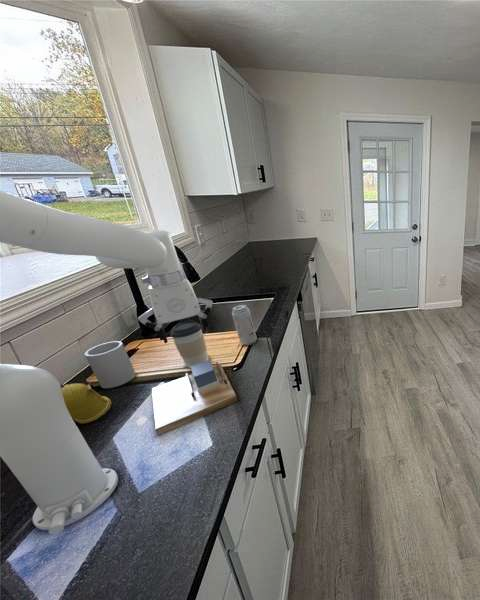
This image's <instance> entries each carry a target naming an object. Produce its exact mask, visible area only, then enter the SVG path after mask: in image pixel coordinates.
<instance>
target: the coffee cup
mask: <svg viewBox="0 0 480 600" xmlns="http://www.w3.org/2000/svg"><path fill="white" fill-rule="evenodd" d="M169 332H170V337H171V338H172V339H173V343H174V345H175V347H176V349H177V352H178V353H179V355H180V358H182V360H183V363H184V364H185V366H186V368H190V369H191V366H194V365H197V364H200V363H203V362H206V361H208V360H210V358H209V355H208V351H207V348H208V347H207V345H206V341H205V336H204V333H203V327H202V324H201V323H198V322H196V321H194V320H192V319H189V320H185V322H181V323H178V324H176V325H174V326H173V327H172V329H171V330H170V331H169Z"/></svg>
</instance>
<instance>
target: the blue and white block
mask: <svg viewBox="0 0 480 600" xmlns="http://www.w3.org/2000/svg"><path fill="white" fill-rule="evenodd" d="M190 370H191V374H193V377H194V380H195V383H196V387H197V390H198V392H199V393H200V392H203V391H205V390H208V389H210V388H213V387H215V386H218V385H220V384H219V381H218V379H217V377H216V374H215V372H214V369H213V364H212V363H211V360H210V359H209V360H208V361H206V362H203V363H200V364H197V365H194V366H191V368H190Z"/></svg>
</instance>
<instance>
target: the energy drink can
mask: <svg viewBox="0 0 480 600" xmlns="http://www.w3.org/2000/svg"><path fill="white" fill-rule="evenodd" d="M231 316H232V319H233V323H234V325H235V326H234V327H235V330H236V333H237V337H238V339H239V343H240V344H241V345H243V346H250V345H254V344H255V343H256V341H257V338H258V337H257V334H256V330H255V326H254V322H253V319H252V314H251V311H250V308H249V307H248V306H247V305H246V304H238V305H236V306H233V307H232V311H231Z"/></svg>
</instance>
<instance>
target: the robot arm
mask: <svg viewBox="0 0 480 600" xmlns="http://www.w3.org/2000/svg"><path fill="white" fill-rule="evenodd" d="M0 243H1V244H6V245H11V246H15V247H19V248H23V249H27V250H32V251H36V252H42V253H47V254H55V255H66V256H87V257H95V259H96V260H97V261H98V263H100V264H102V265H104V266H105V267H108V268H112V269H144V271H145V272H146V276H145V277H142V278H141V282H142V284H149V286H148V287H147V289H148V290H147V291H148V297H149V301H150V305H151V308H149V309H148V310H147V311H145V312H144V313H142V314H141V315H139V316H138V317H137V319H138V321H139V322H140V323H141V324H142V325H144V326H145V327H147V328H149V329H152V330H154V331H155V332H157V335H158V337H159V340H160V341H163V342H164V344H167V343H168V337H167V335H166V332H165V329H164V327H163V325H164V324H168V323H173V322H175V321H176V322H177V321H180V320H183V319H188V318H191V317H195V316H198V317H199V321H200V325H201V327H202V331H203V332H208V329H207V328H209V324H208V320H207V317H208V315H210V313H211V311H212V307H213V303H214V302H213V300H212V299H209V298H208V299H207V298H202V297H197V295H196V293H195V290H194V288H193V286H192V284H191V282H190V281H189V280H188V279H187V278H185V276H184V273H183V270H182V267H181V263H180V260H179V257H178V254H177V253H178V252H177V250H176V248H175V245H174V240H173V238H172V235H171V234H170V232H168V231H166V230H151V231H141V230H139V229H136V228H134V227H130V226H127V225H125V224H120V223H117V222H112V221H108V220H104V219H99V218H94V217H91V216H86V215H83V214H80V213H79V214H78V213H75V212H69V211H65V210H61V209H57V208H54V207H51V206H49V205H46V204H43V203H39V202H36V201H33V200H31V199H27V198H24V197H22V196H19V195H16V194H14V193H13V194H12V193H10V192H7V191H4V190H2V189H1V190H0ZM200 304H201V305H202V304H203V305H205V308H204V309H203V310H201V308H200ZM153 315H154V317H155V319H156V322H153V321H150V320H149V319H148V318H149V317H151V316H153ZM60 385H61V384H60V382H59V381H58V379H57V378H56V376H55V375H54V374H52V373H51V372H49V371H48V370H45V369H43V368H41V367H38V366H32V365H27V364H15V363H12V364H11V363H9V364H8V363H0V458H1V459H2V461H3V462H4V463H5V464H6V466H7V467H8V468H9V470H10V471H11V472H12V474H13V475H14V476H15V478H16V479H17V481H18V482H19V483H20V485H21V486H22V487H23V489H24V490H25V492H26V493H27V494H28V495H29V497H30V498H31V499H32V501H33V502H34V503H35V505H36V506H37V507H36V508H35V511H34V512H33V514H32V519H31V520H32V523H33V525H34V526H35V527H36V528H37V529H38V530H41V531H48V532H47V533H48V535H51V536H54V535H58V534H60V533H62V532H63V531H64V529H65V527H66V526H69V525H71V524H73V523H75V522H78V521H80V520H81V519H83V518H85V517H86V516H87V515H90V514H91V513H92V512H94V511H95V510H96V509H98V508H99V507H100V506H101V505H102V504H104V503H105V501H106V500H107V499H108V498H109V497H111V495H112V493H113V492H114V491H115V489H116V487H118V483H119V476H118V473H117V472H116V470H115V469H112V468H108V467H102V466H101V465H100V463H99V462H98V459H97V458H96V456H95V455H94V452H93V451H92V450H91V448H90V446H89V445H88V443H87V441H86V439H85V438H84V436H83V434H82V433H81V431H80V429H79V427H78V426H77V425H76V423H75V421H74V418H72V417H71V416H70V414H69V412H68V410H67V407H66V405H65V402H64V399H63V395H62V390H61V387H60Z"/></svg>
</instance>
